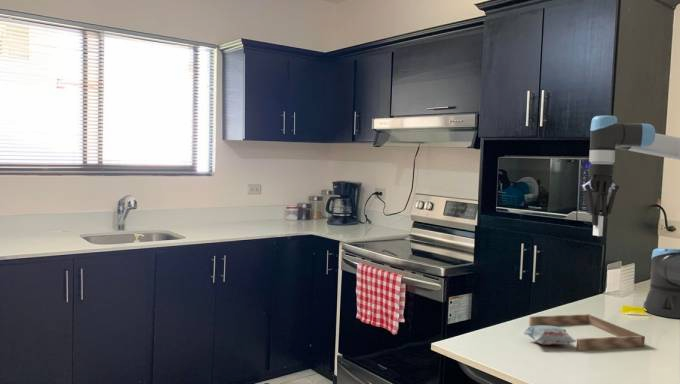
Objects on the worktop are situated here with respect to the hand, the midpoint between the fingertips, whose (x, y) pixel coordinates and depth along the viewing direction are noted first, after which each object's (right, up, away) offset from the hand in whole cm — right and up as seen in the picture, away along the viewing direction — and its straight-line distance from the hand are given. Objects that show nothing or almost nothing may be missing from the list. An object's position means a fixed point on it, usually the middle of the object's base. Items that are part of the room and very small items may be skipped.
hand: (597, 235), depth 180 cm
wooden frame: (-10, -30, -12) cm, 34 cm away
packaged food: (-28, -31, -24) cm, 48 cm away
